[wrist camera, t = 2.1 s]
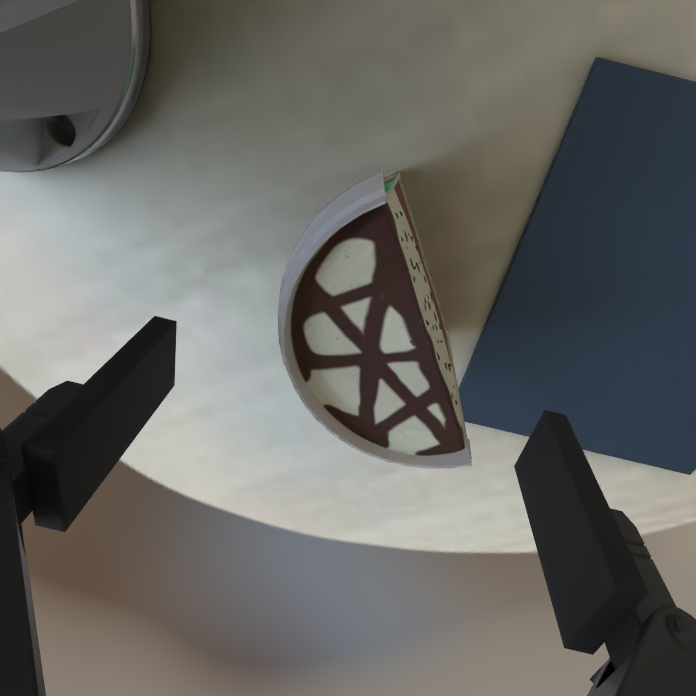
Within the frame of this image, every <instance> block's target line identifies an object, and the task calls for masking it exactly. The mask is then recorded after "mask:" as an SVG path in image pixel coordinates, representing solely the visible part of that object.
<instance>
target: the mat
mask: <svg viewBox="0 0 696 696" xmlns="http://www.w3.org/2000/svg"><path fill="white" fill-rule="evenodd" d="M458 390H459V396H460V401H461V407H462V412H463V418H464V421H465V422H470V423H474V424H478V425H482V426H486V427H491V428H495V429H499V430H503V431H508V432H512V433H516V434H520V435H524V436H529V437H530V436H531V434H532V432H533V431H534V429H535V427H536V425H537V423H538V421H539V419H540V418H541V416H542V414H543V412H544V410H548V411H552V412H556V413H560V414H565V415H566V416H567V418H568V420H569V422H570V425H571V427H572V429H573V431H574V433H575V435H576V437H577V440H578V442H579V444H580V446H581V448H582V449H583V450H588V451H592V452H596V453H600V454H605V455H609V456H613V457H617V458H621V459H626V460H630V461H634V462H638V463H642V464H647V465H651V466H655V467H659V468H664V469H668V470H672V471H676V472H680V473H685V474H689V475H691V473H692V472H693V471H694V470H695V469H696V82H694V81H690V80H686V79H682V78H678V77H674V76H670V75H666V74H662V73H658V72H654V71H650V70H646V69H642V68H638V67H635V66H631V65H627V64H623V63H619V62H615V61H611V60H607V59H603V58H595V61H594V63H593V65H592V68H591V70H590V73H589V75H588V77H587V80H586V82H585V85H584V87H583V90H582V92H581V94H580V97H579V99H578V102H577V104H576V106H575V109H574V111H573V114H572V116H571V119H570V121H569V123H568V126H567V128H566V131H565V133H564V136H563V138H562V140H561V143H560V145H559V148H558V150H557V152H556V155H555V157H554V160H553V162H552V165H551V167H550V169H549V172H548V174H547V177H546V179H545V181H544V184H543V186H542V189H541V191H540V194H539V196H538V198H537V201H536V203H535V206H534V208H533V210H532V213H531V215H530V218H529V220H528V223H527V225H526V227H525V230H524V232H523V235H522V237H521V240H520V242H519V244H518V247H517V249H516V252H515V254H514V256H513V259H512V261H511V264H510V266H509V269H508V271H507V273H506V276H505V278H504V281H503V283H502V285H501V288H500V290H499V293H498V295H497V298H496V300H495V302H494V305H493V307H492V310H491V312H490V314H489V317H488V319H487V322H486V324H485V327H484V329H483V331H482V334H481V336H480V339H479V341H478V344H477V346H476V348H475V351H474V353H473V356H472V358H471V360H470V363H469V365H468V368H467V370H466V373H465V375H464V377H463V380H462V382H461V385H460V387H459V389H458Z"/></svg>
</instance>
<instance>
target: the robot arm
mask: <svg viewBox="0 0 696 696" xmlns="http://www.w3.org/2000/svg"><path fill="white" fill-rule="evenodd" d="M149 38H150V19H149V4H148V0H0V171H5V172H33V171H41V170H46V169H49V168H53V167H57V166H60V165H64V164H68V163H71V162H75V161H77V160H80V159H82V158H84V157H87V156H88V155H90V154H92V153H94V152H95V151H97V150H98V149H100V148H101V147H102V146H104V145H105V144H106V143H107V142H108V141H109V140H110V139H111V138H112V137H113V136H114V135H115V134H116V133H117V132H118V131H119V129H120V128H121V127H122V126H123V124H124V123H125V121H126V120H127V118H128V116H129V115H130V113H131V111H132V109H133V107H134V105H135V103H136V101H137V98H138V96H139V93H140V90H141V87H142V84H143V80H144V76H145V71H146V67H147V60H148V53H149ZM175 351H176V321H173V320H169V319H165V318H161V317H157V316H154V317H153V318H152V319H151V320H150V321H149V322H148V323H147V324H146V325H145V326H144V327H143V328H142V329H141V330H140V331H139V332H138V333H137V334H136V335H135V336H134V337H132V338H131V339H130V340H129V341H128V342H127V343H126V344H125V345H124V346H123V347H122V348H121V349H120V350H119V351H118V352H117V353H116V354H115V355H114V356H113V357H112V358H111V359H110V360H109V361H108V362H107V363H105V364H104V365H103V366H102V367H101V368H100V369H99V370H98V371H97V372H96V373H95V374H94V375H93V376H92V377H91V378H90V379H89V380H88V381H87V382H86V383H85V384H84V385H83V384H79V383H75V382H70V381H66V382H64V383H62V384H59V385H57V386H55V387H53V388H51V389H49V390H48V391H47V392H45V393H44V394H43V395H42V396H41V397H40V398H39V399H37V400H36V403H33V404H32V405H31V406H30V407H28V408H27V409H26V411H25V413H22V414H20V415H19V416H18V417H17V418H16V419H15V420H14V421H13V422H11V423H10V424H9V425H8V426H7V427H6V428H5V429H3V430H1V428H0V696H46V693H45V686H44V679H43V672H42V665H41V657H40V650H39V643H38V636H37V629H36V622H35V614H34V607H33V601H32V593H31V586H30V578H29V571H28V564H27V557H26V550H25V543H24V535H23V529H22V524H21V523H22V522H23V521H24V520H25V518H26V517H27V516H28V515H29V514H30V513H31V511H32V510H33V515H34V519H35V525H37V526H41V527H46V528H50V529H54V530H59V531H63V532H65V531H66V530H67V529H68V527H69V526H70V525H71V523H72V522H73V521H74V519H75V518H76V517H77V515H78V514H79V513H80V511H81V510H82V509H83V507H84V506H85V504H86V503H87V502H88V500H89V499H90V498H91V496H92V495H93V493H94V492H95V491H96V489H97V488H98V487H99V486H100V484H101V483H102V482H103V480H104V479H105V478H106V476H107V475H108V474H109V472H110V471H111V470H112V468H113V467H114V466H115V464H116V463H117V462H118V460H119V459H120V458H121V456H122V455H123V454H124V452H125V451H126V449H127V448H128V447H129V445H130V444H131V443H132V441H133V440H134V439H135V437H136V436H137V435H138V433H139V432H140V431H141V429H142V428H143V427H144V425H145V424H146V423H147V421H148V420H149V419H150V417H151V416H152V415H153V413H154V412H155V411H156V409H157V408H158V407H159V405H160V404H161V402H162V401H163V400H164V398H165V397H166V396H167V394H168V393H169V392H170V390H171V389H172V388H173V386H174V381H175ZM514 467H515V471H516V474H517V478H518V482H519V485H520V489H521V492H522V496H523V500H524V503H525V507H526V511H527V514H528V518H529V521H530V525H531V529H532V532H533V536H534V540H535V543H536V547H537V551H538V554H539V558H540V561H541V565H542V569H543V572H544V576H545V580H546V583H547V586H548V590H549V594H550V597H551V601H552V605H553V609H554V612H555V616H556V620H557V623H558V627H559V630H560V634H561V638H562V641H563V645H564V648H567V649H571V650H576V651H579V652H584V653H588V654H594V653H595V652H596V651H597V650H598V648H599V647H600V646H601V645H602V644H603V643H604V642H605V644H606V647H607V650H608V653H609V656H610V658H609V659H608V660H607V662H606V663H605V664H604V665H603V666H602V667H601V668H600V669H599V670H598V671H597V672H596V673H595V674H594V675H593V676H592V677H591V678H590V680H591V681H592V682H593V683H594V684H593V686H592V688H591V690H590V692H589V693H588V695H587V696H696V619H695V618H693V617H692V616H691V615H689V614H688V613H686V612H685V611H683V610H682V609H680V608H677V607H676V605H675V603H674V601H673V599H672V597H671V595H670V593H669V591H668V590H667V587H666V586H665V583H664V582H663V579H662V577H661V575H660V574H659V572H658V570H657V568H656V566H655V564H654V562H653V560H651V559H650V557H651V556H650V554H649V552H648V550H647V548H646V546H644V542H643V540H642V538H641V536H640V534H639V532H638V530H637V528H636V527H635V525H634V524H633V523H632V522H631V521H630V520H629V519H628V517H627V516H626V515H625V514H624V513H623V512H622V511H618V510H614V509H610V508H609V506H608V504H607V501H606V499H605V497H604V495H603V493H602V491H601V489H600V487H599V484H598V482H597V480H596V478H595V476H594V474H593V472H592V469H591V467H590V465H589V463H588V461H587V459H586V457H585V455H584V452H583V450H582V448H581V446H580V444H579V442H578V440H577V437H576V435H575V433H574V431H573V429H572V427H571V425H570V422H569V420H568V418H567V416H566V415H565V414H560V413H556V412H552V411H548V410H544V412H543V414H542V416H541V418H540V419H539V421H538V423H537V425H536V427H535V429H534V431H533V432H532V434H531V436H530V438H529V440H528V442H527V443H526V445H525V447H524V449H523V451H522V453H521V455H520V456H519V458H518V460H517V462H516V464H515V466H514Z"/></svg>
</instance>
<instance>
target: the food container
mask: <svg viewBox="0 0 696 696" xmlns="http://www.w3.org/2000/svg"><path fill="white" fill-rule="evenodd" d="M278 331H279V343H280V348H281V353H282V357H283V362H284V364H285V367H286V369H287V372H288V374H289V377H290V379H291V381H292V383H293V386H294V388H295V390H296V392H297V393H298V395H299V397H300V398H301V400H302V402H303V403H304V405H305V406H306V407H307V409H308V410H309V411H310V412H311V413H312V415H313V416H314V417H315V418H316V419H317V420H318V422H320V423H321V424H322V425H323V426H324V427H325V428H326V429H327V430H329V431H330V432H331V433H332V434H333V435H335V436H336V437H338V438H339V439H341V440H342V441H344V442H345V443H347V444H348V445H350V446H351V447H353V448H355V449H358V450H360V451H362V452H364V453H366V454H368V455H370V456H373V457H376V458H379V459H382V460H384V461H387V462H391V463H396V464H401V465H405V466H411V467H421V468H456V467H464V466H472V463H471V459H472V458H471V451H470V443H469V439H467V434H466V429H465V423H464V418H463V412H462V407H461V401H460V396H459V390H458V385H457V379H456V374H455V368H454V363H453V357H452V352H451V346H450V341H449V335H448V330H447V327H446V324H445V320H444V317H443V314H442V311H441V307H440V304H439V301H438V298H437V294H436V291H435V288H434V285H433V281H432V278H431V275H430V272H429V268H428V265H427V262H426V258H425V255H424V252H423V249H422V245H421V242H420V239H419V236H418V232H417V229H416V226H415V223H414V219H413V216H412V213H411V209H410V206H409V203H408V200H407V196H406V193H405V190H404V187H403V183H402V180H401V177H400V174H399V172H397V173H395V174H393V175H391V176H389V177H387V178H384V175H383V172H379V173H377V174H375V175H373V176H371V177H369V178H367V179H365V180H363V181H361V182H358V183H357V184H355V185H354V186H352V187H351V188H349V189H348V190H346V191H345V192H344V193H342V194H341V195H339V196H338V197H336V198H335V199H334V200H333V201H332V202H330V203H329V204H328V205H327V206H326V207H325V208H324V209H323V210H322V211H321V212H320V213H319V214H318V215H317V216H316V217H315V218H314V219H313V221H312V222H311V223H310V225H309V226H308V227H307V229H306V230H305V231H304V233H303V234H302V235H301V237H300V238H299V240H298V242H297V244H296V246H295V248H294V250H293V252H292V254H291V256H290V257H289V260H288V263H287V266H286V269H285V272H284V276H283V279H282V283H281V291H280V298H279V310H278Z"/></svg>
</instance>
